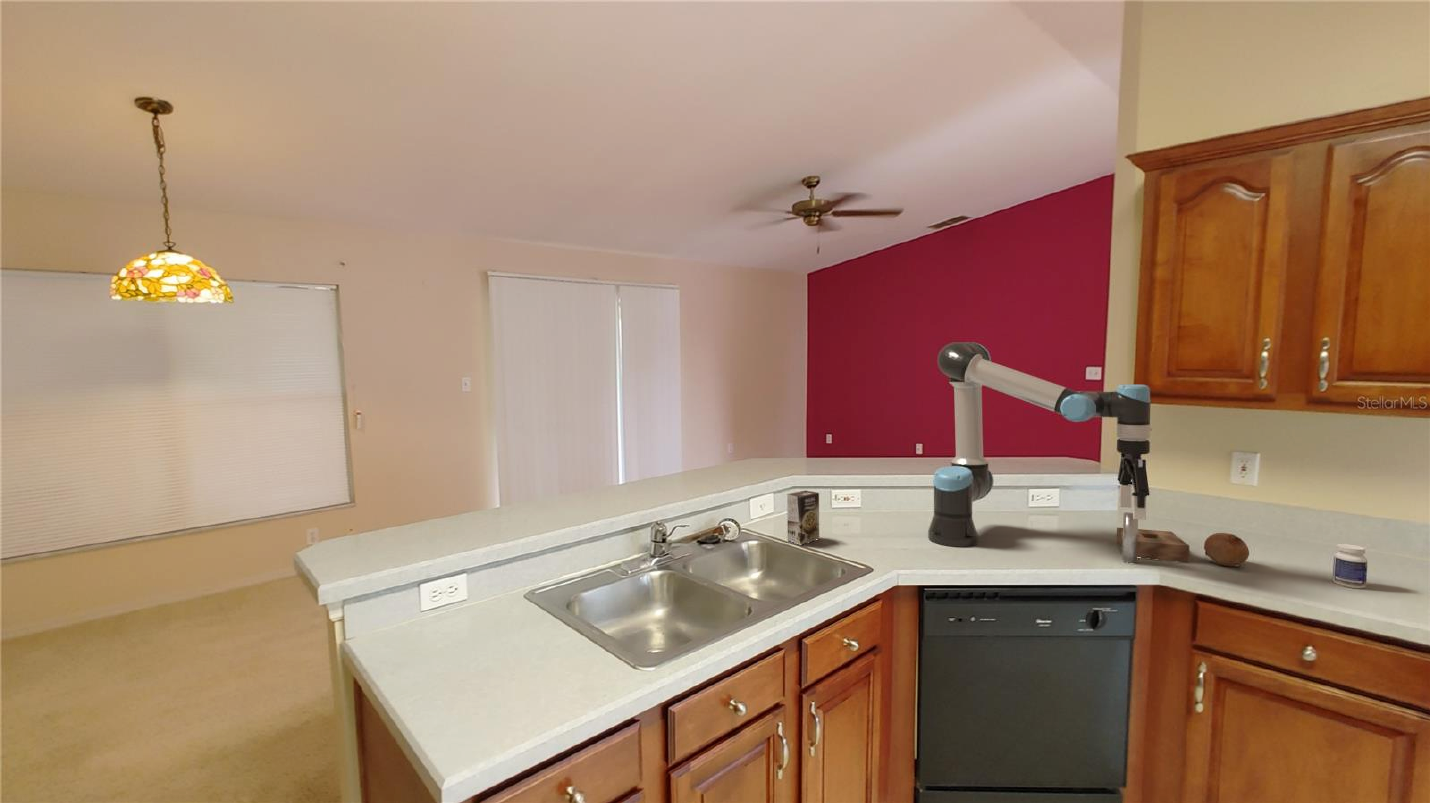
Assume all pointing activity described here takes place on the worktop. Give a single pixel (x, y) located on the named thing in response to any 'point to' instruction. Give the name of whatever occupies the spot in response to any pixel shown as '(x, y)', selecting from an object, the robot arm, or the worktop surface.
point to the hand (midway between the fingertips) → (1132, 512)
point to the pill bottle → (1350, 566)
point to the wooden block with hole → (1158, 545)
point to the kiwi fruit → (1226, 549)
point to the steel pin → (1130, 538)
